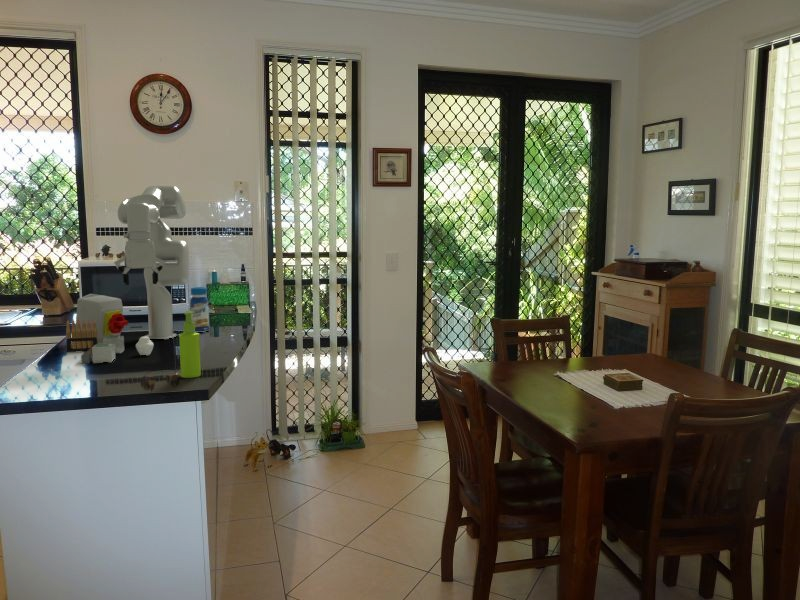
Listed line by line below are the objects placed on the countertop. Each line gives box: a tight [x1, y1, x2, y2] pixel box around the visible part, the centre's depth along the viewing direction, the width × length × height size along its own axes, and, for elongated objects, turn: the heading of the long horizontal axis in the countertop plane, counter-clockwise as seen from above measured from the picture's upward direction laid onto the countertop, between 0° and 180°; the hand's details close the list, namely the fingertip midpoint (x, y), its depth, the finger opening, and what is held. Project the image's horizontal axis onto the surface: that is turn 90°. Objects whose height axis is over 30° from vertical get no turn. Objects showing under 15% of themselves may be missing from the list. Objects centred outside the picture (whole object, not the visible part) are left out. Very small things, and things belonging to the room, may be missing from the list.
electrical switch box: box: [75, 293, 129, 345], centre depth 251 cm, size 15×15×20 cm
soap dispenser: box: [178, 310, 202, 379], centre depth 192 cm, size 6×7×20 cm
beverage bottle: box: [189, 286, 211, 331], centre depth 278 cm, size 8×8×20 cm
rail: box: [80, 334, 125, 365], centre depth 222 cm, size 24×9×6 cm, turn 14°
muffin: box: [135, 335, 155, 356], centre depth 226 cm, size 6×6×7 cm
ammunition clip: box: [65, 319, 98, 353], centre depth 233 cm, size 11×2×12 cm, turn 108°
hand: (141, 284), depth 226 cm, fingers open, 9 cm apart
